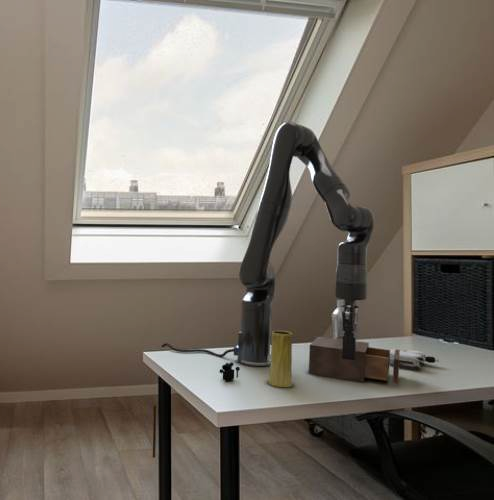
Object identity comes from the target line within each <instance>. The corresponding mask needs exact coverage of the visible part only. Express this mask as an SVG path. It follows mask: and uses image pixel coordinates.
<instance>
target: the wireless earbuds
mask: <svg viewBox="0 0 494 500" xmlns="http://www.w3.org/2000/svg"><path fill="white" fill-rule="evenodd" d="M233 367H234V363H233V361H231V362H226V363H225V364H223V365H222V366H221V368H220V369H219V373H220V374H222V381H225V382H230V381H234V380H235V376H236V378H237V379H238V378H239V371H240V370H241V367H239V366H236V367H235V369H233ZM235 371H236V375H235Z"/></svg>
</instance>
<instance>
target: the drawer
mask: <svg viewBox="0 0 494 500" xmlns="http://www.w3.org/2000/svg"><path fill="white" fill-rule="evenodd" d="M390 350H391V349H387V348H380V347H379V348H377V347H372V346H369V347H368V348H367V351H366V353H365V370H364V377H365V378H367V379H373V380H381V381H386V382H387V381H388V380H389V374H390V364H391V362H390ZM394 350H395V354H394V364H393V368H392V369H393V370H392V371H393V372H392V384H396V385H398V384H399V375H400V368H402V369H403V368H404V369H411V370H413V371H415V372H419V371H420V370H421V368H420V367H421V365H420V364H419V362H418V361H414V362H411V361H404V360H399V358H400V351H401V350H400V349H394ZM399 362H401V363H408V364H413V366H406V365H404V364H401V363H400V364H399Z"/></svg>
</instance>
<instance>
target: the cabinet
mask: <svg viewBox="0 0 494 500" xmlns="http://www.w3.org/2000/svg"><path fill="white" fill-rule="evenodd" d="M342 346H343V340H342V339H334V338H333V337H324V336H317V337H316V338H315V339H314V340H313V341H312V342H311V343H310V344H309V356H308V357H309V358H308V374H310V375H315V376H321V377H326V378H328V377H329V378H332V379H333V378H334V379H339V380H347V381H352V382H359V383H365V381H366V377H364V370H365V353H366V351H367V348H368V347H370V343H369V342H366V341H358V340H356V356H355V360H347V359H342Z"/></svg>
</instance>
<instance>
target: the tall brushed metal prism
mask: <svg viewBox="0 0 494 500" xmlns="http://www.w3.org/2000/svg"><path fill="white" fill-rule="evenodd" d="M346 327H351V326H346ZM342 328H343V326H341V327H340V336H343V346H342V359H347V360H355V356H356V341H357V339H359V338H360V327H359V326H356V327H354V330H355V331H354V336H353V347H345V346H344V332H343V330H342Z"/></svg>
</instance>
